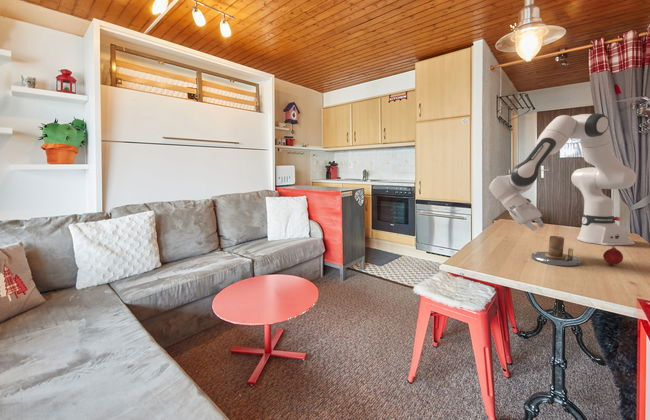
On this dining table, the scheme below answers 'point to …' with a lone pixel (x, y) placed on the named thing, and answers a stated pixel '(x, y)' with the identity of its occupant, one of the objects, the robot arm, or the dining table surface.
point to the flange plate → (568, 260)
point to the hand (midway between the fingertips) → (539, 228)
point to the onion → (613, 256)
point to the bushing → (556, 248)
